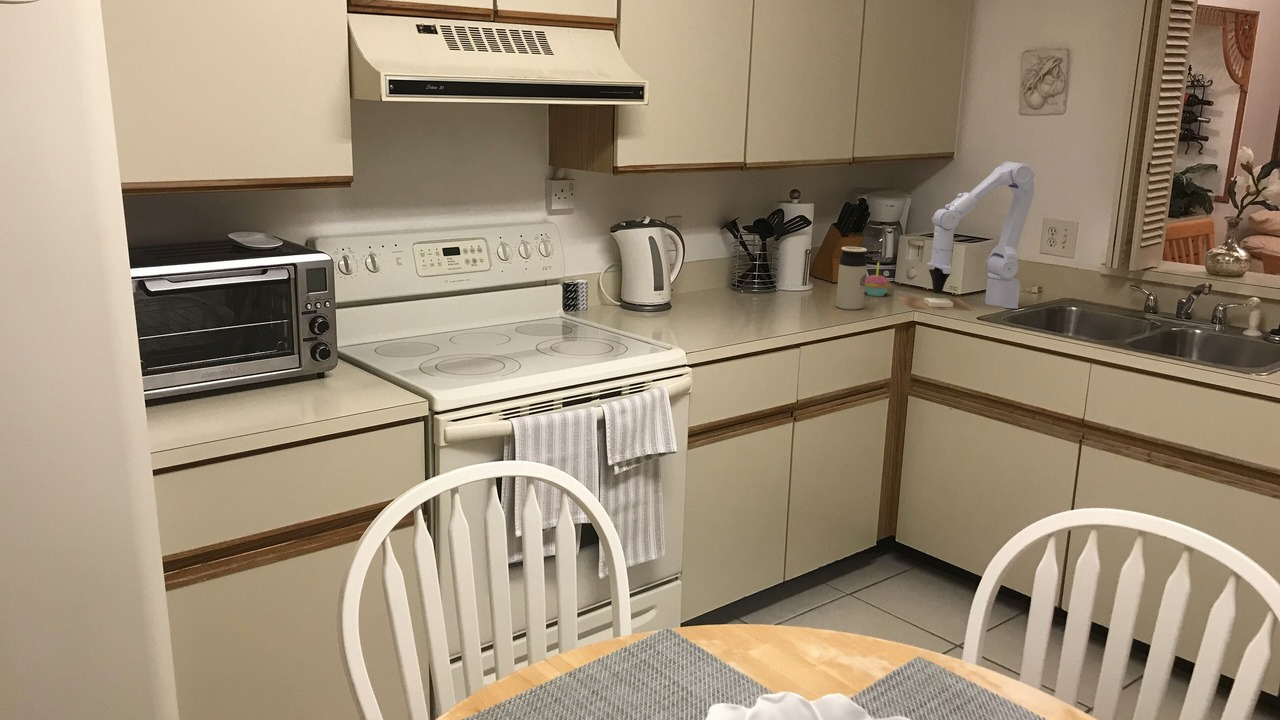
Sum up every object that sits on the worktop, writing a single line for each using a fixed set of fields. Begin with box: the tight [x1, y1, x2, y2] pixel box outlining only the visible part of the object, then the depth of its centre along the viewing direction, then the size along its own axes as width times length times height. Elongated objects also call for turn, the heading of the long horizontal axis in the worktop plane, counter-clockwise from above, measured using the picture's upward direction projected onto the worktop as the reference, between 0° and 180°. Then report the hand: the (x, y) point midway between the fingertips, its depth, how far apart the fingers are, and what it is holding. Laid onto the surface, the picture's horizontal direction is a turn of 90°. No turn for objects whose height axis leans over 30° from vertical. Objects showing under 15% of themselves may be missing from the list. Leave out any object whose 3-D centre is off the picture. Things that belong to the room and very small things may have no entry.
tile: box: [923, 297, 953, 308], centre depth 310 cm, size 7×2×6 cm
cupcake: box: [864, 260, 891, 297], centre depth 323 cm, size 9×8×12 cm
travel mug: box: [835, 246, 868, 311], centre depth 305 cm, size 8×8×18 cm
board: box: [896, 296, 978, 312], centre depth 313 cm, size 20×18×1 cm
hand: (937, 293), depth 312 cm, fingers closed
